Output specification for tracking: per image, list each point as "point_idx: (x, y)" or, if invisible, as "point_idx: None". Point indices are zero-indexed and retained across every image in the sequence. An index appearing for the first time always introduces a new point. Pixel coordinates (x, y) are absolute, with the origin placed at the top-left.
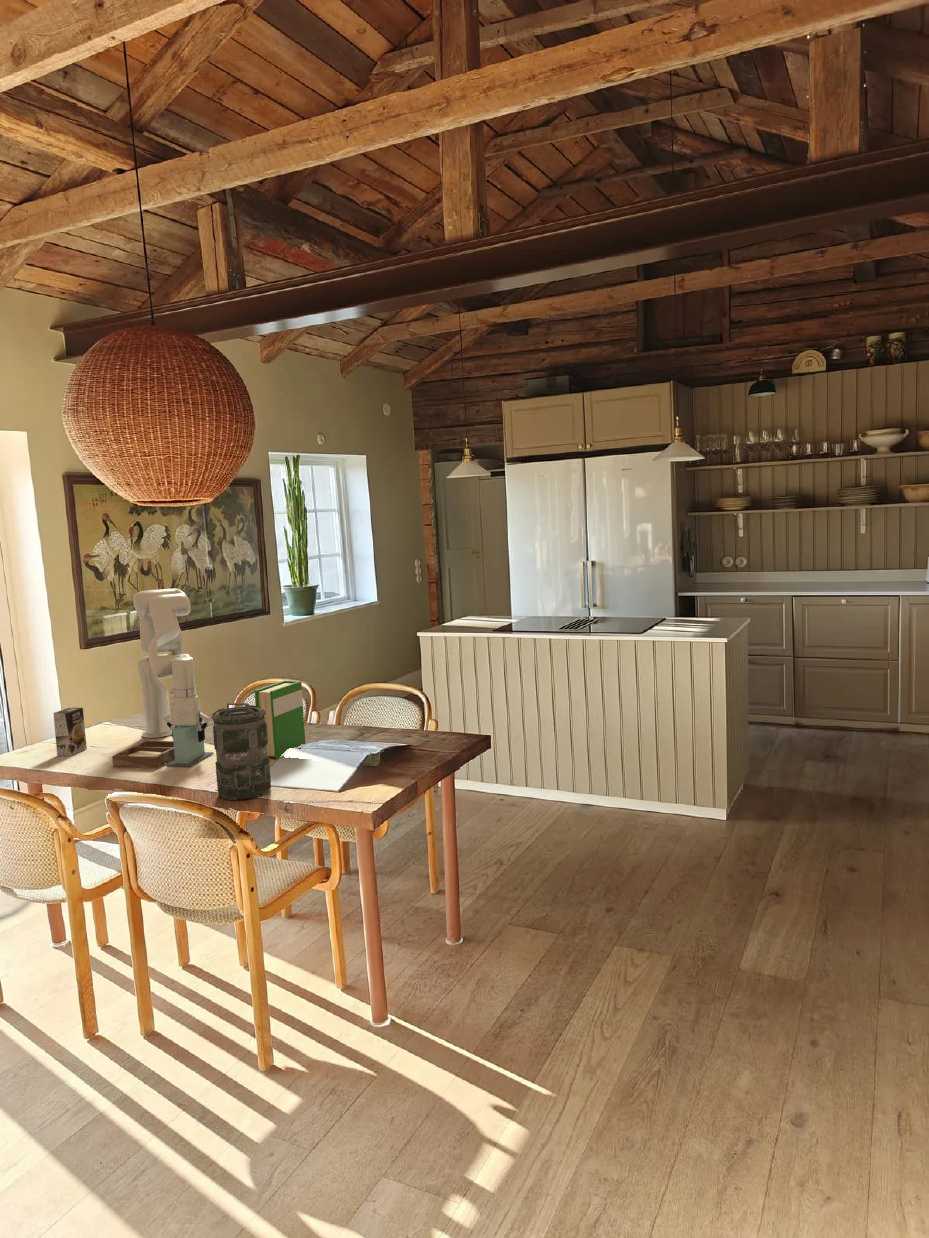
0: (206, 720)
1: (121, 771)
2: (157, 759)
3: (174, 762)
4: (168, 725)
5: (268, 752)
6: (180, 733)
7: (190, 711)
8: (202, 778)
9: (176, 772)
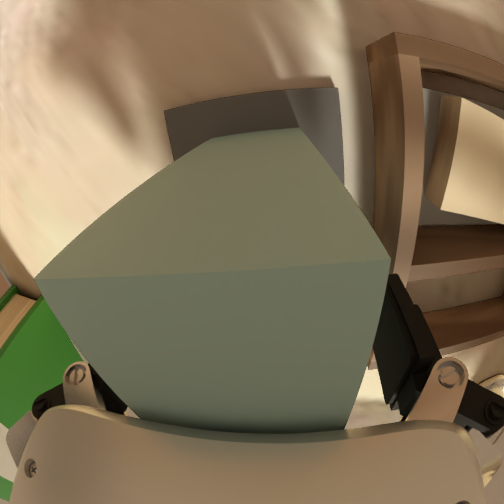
0: (22, 432)
1: (493, 26)
2: (387, 48)
3: (316, 141)
4: (489, 399)
5: (23, 305)
6: (154, 220)
7: None
8: (26, 31)
9: (179, 9)
